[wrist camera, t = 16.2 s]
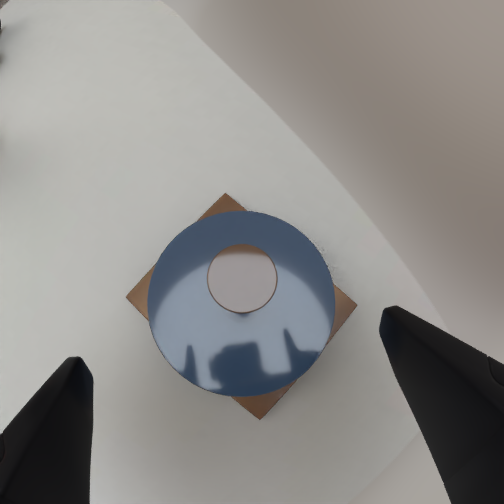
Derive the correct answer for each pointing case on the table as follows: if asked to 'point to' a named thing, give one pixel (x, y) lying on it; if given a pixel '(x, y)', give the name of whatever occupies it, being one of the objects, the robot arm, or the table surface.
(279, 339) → the lid
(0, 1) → the building
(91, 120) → the table surface
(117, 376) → the table surface
